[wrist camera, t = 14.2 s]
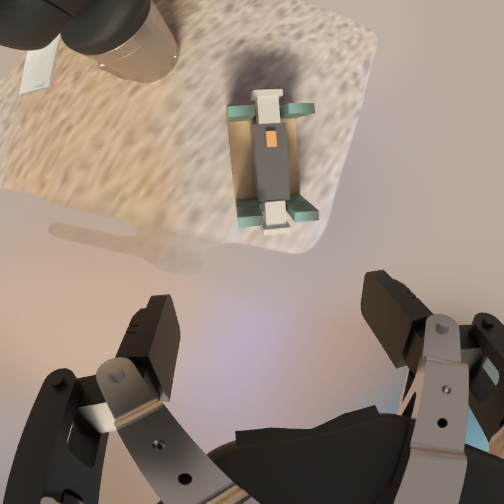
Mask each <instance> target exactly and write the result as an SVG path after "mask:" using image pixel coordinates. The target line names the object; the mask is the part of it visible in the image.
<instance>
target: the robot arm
mask: <svg viewBox="0 0 504 504" xmlns="http://www.w3.org/2000/svg"><path fill="white" fill-rule="evenodd" d="M59 34H60V35H61V38H62V40H63V42H64V43H65V44H66V46H68V47H69V48H70V49H72V50H74V51H76V52H78V53H81V54H83V55H85V56H87V57H89V58H92V59H94V60H96V61H98V65H99V68H100V69H102V70H105V71H107V72H109V73H111V74H113V75H115V76H117V77H119V78H121V79H123V80H126V79H132V80H134V81H136V82H142V83H147V82H153V81H156V80H158V79H160V78H162V77H164V76H165V75H166V74H168V73H169V72H170V71H171V70H172V68H173V67H174V66H175V64H176V62H177V60H178V56H179V47H178V44H177V42H176V39H175V38H174V36H173V35H172V33H171V31H170V29H169V28H168V26H167V24H166V22H165V21H164V19H163V17H162V16H161V14H160V12H159V10H158V9H157V7H156V6H155V4H154V2H153V0H0V45H2V46H5V47H9V48H13V49H19V50H28V51H32V50H39V49H42V48H45V47H46V46H48V45H49V44H50V43H51V42H52V41H53V40H54V39H55V38H56V37H57V36H58V35H59ZM361 312H362V315H363V317H364V319H365V320H366V322H367V323H368V325H369V326H370V328H371V329H372V331H373V333H374V334H375V336H376V337H377V339H378V340H379V342H380V343H381V345H382V347H383V348H384V350H385V351H386V353H387V354H388V356H389V358H390V359H391V361H392V362H393V364H394V366H395V367H396V368H400V367H403V366H406V365H407V366H408V368H409V369H408V371H407V374H406V379H405V383H404V387H403V392H402V395H401V400H400V403H399V407H398V410H397V413H396V414H389V413H379V412H378V410H377V408H376V406H375V405H373V406H370V407H367V408H363V409H360V410H356V411H352V412H349V413H345V414H343V415H341V416H339V417H336V418H334V419H332V420H330V421H328V422H326V423H324V424H322V425H319V426H317V427H315V428H313V429H287V428H264V429H255V430H244V431H235V433H236V440H235V441H232V442H229V443H227V444H224V445H221V446H220V447H217V448H216V449H214V450H212V451H211V452H209V453H208V454H205V453H204V452H203V451H202V450H201V449H200V448H199V446H198V445H197V444H196V443H195V442H194V441H193V440H192V439H191V437H190V436H189V435H188V434H187V433H186V432H185V430H184V429H183V428H182V427H181V425H180V424H179V423H178V422H177V421H176V419H175V418H174V417H173V416H172V414H171V413H170V412H169V410H168V409H167V408H166V407H165V405H164V404H163V403H162V402H169V401H170V395H171V389H172V383H173V377H174V371H175V365H176V359H177V354H178V349H179V343H180V328H179V323H178V320H177V316H176V312H175V309H174V305H173V301H172V298H171V296H170V295H169V294H168V295H156V296H151V298H150V300H149V302H148V305H147V307H146V308H143V309H140V310H139V311H138V312H137V313H136V314H135V315H134V316H133V317H132V319H131V321H130V324H129V327H128V328H127V331H126V334H125V335H124V338H123V340H122V342H121V345H120V347H119V350H118V352H117V354H116V357H115V358H113V359H110V360H107V361H106V362H104V363H103V364H102V365H101V366H100V367H99V368H98V370H97V372H96V375H93V376H88V377H83V378H78V379H77V378H76V376H75V375H74V373H73V372H72V371H71V370H69V369H65V368H64V369H58V370H55V371H53V372H52V373H50V374H49V375H48V376H47V377H46V379H45V380H44V383H43V385H42V387H41V389H40V391H39V393H38V396H37V398H36V400H35V403H34V405H33V407H32V410H31V413H30V415H29V417H28V420H27V422H26V426H25V428H24V430H23V433H22V436H21V439H20V442H19V445H18V448H17V451H16V454H15V457H14V460H13V464H12V467H11V471H10V475H9V478H8V483H7V487H6V491H5V496H4V501H3V504H98V500H99V491H100V483H101V476H102V469H103V463H104V457H105V451H106V445H107V440H108V435H109V432H111V431H118V433H119V435H120V437H121V439H122V441H123V442H124V444H125V446H126V448H127V449H128V451H129V453H130V454H131V456H132V458H133V460H134V461H135V463H136V464H137V466H138V468H139V469H140V471H141V472H142V474H143V475H144V477H145V478H146V480H147V481H148V482H149V484H150V485H151V487H152V488H153V490H154V491H155V493H156V494H157V495H158V497H159V498H160V499H161V500H160V501H159V502H158V503H157V504H504V325H503V324H502V323H501V322H500V321H499V320H498V319H497V318H496V317H494V316H493V315H491V314H488V313H478V314H476V315H475V317H474V319H473V322H472V324H471V325H458V324H457V322H456V321H455V320H454V319H452V318H451V317H449V316H446V315H443V314H433V313H432V312H431V311H430V310H429V309H428V308H427V307H426V306H425V305H424V304H423V303H422V302H421V301H420V300H419V299H418V298H416V296H415V295H414V294H413V293H412V292H411V291H410V290H409V289H408V288H407V287H406V286H405V285H404V284H403V283H401V282H399V281H397V280H395V279H392V278H391V277H390V276H389V275H388V274H387V273H386V272H385V271H384V270H378V271H371V272H367V273H366V274H365V277H364V284H363V291H362V298H361ZM487 358H489V360H490V361H491V362H492V363H493V365H494V366H495V367H496V369H497V370H498V372H499V382H498V384H497V385H496V386H495V384H494V383H493V381H492V380H491V378H490V377H489V376H488V374H487V373H486V371H485V370H484V369H483V365H484V363H485V361H486V360H487ZM468 405H469V407H470V408H471V410H472V412H473V414H474V415H475V417H476V419H477V421H478V423H479V424H480V426H481V428H482V430H483V432H484V434H485V436H486V438H487V440H488V442H489V451H488V452H485V451H483V450H480V449H478V448H475V447H473V446H470V445H468V444H465V437H466V428H467V416H468ZM71 425H73V426H72V429H71V433H70V436H69V441H68V444H67V439H68V435H69V432H70V428H71Z"/></svg>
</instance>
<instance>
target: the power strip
mask: <svg viewBox="0 0 504 504" xmlns="http://www.w3.org/2000/svg"><path fill="white" fill-rule="evenodd" d="M281 96H283V89H268V90H253V91H252V93H251V95H250V99H251V101H254V100H255V109H256V121H257V124H253V125H251V126H250V133H251V145H252V157H253V170H254V183H255V194H256V196H257V198H258V201H259V202H263V215H264V225H260V226H261V229H262V232H263V235H264V236H266V235H276V234H287V233H291V227H290V225H289V224H288V222H287V221H286V207H285V200H290V184H289V164H288V148H287V132H286V123H280V110H279V98H280V97H281Z"/></svg>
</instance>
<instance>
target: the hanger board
mask: <svg viewBox="0 0 504 504" xmlns="http://www.w3.org/2000/svg"><path fill="white" fill-rule="evenodd" d="M279 110H280V123H286V132H287V148H288V164H289V184H290V200H285V207H286V211H287V212H288V213H289V215H290V216H291V217H292V219H293V220H294V221H295V222H303V221H315V220H319V211H318V210H317V209H316V208H315V207H314V206H313V205H311V204H310V203H309V202H308V201H307V200H306V199H304V198H303V197H302V196H301V195H300V188H299V166H298V147H297V131H296V118H298V117H302V116H306V115H310V114H314V113H315V107H314V103H288V104H286V105H279ZM227 120H228V131H229V142H230V153H231V163H232V174H233V184H234V194H235V205H236V213H237V217H238V226H239V228H240V227H250V226H260V225H264V219H263V214H262V212H263V202H259V201H258V198H257V196H256V194H255V183H254V170H253V157H252V145H251V133H250V126H251V125H253V124H257V121H256V109H255V105H241V106H229V107H227Z"/></svg>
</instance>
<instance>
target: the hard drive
mask: <svg viewBox="0 0 504 504" xmlns="http://www.w3.org/2000/svg"><path fill="white" fill-rule="evenodd" d="M61 39H62V38H61V35H60V34H59V35H58V36H57V37H56V38H55V39H54V40H53V41H52V42H51V43H50V44H49V45H48V46H46V47H45V48H42V49H39V50H32V51H28V53H27V57H26V61H25V65H24V70H23V75H22V80H21V86H20V93H19V95H20V96H22V95H26V94H29V93H33V92H37V91H40V90H44V89H49V88H51V87H52V81H53V75H54V70H55V65H56V60H57V55H58V51H59V47H60V43H61Z"/></svg>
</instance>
